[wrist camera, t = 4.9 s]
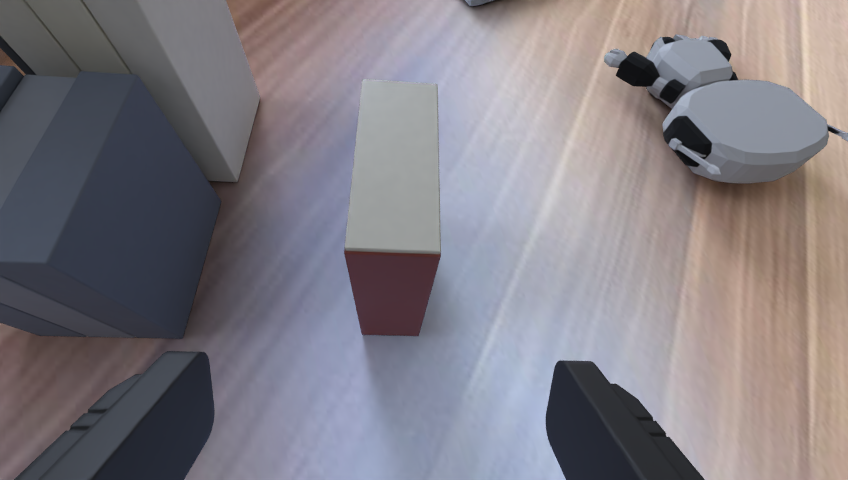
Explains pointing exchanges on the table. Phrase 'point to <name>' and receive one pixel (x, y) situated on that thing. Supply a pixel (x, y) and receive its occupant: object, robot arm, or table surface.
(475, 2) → the office telephone
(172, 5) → the white books
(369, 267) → the cream book
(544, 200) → the table surface
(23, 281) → the grey books
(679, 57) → the robot toy
